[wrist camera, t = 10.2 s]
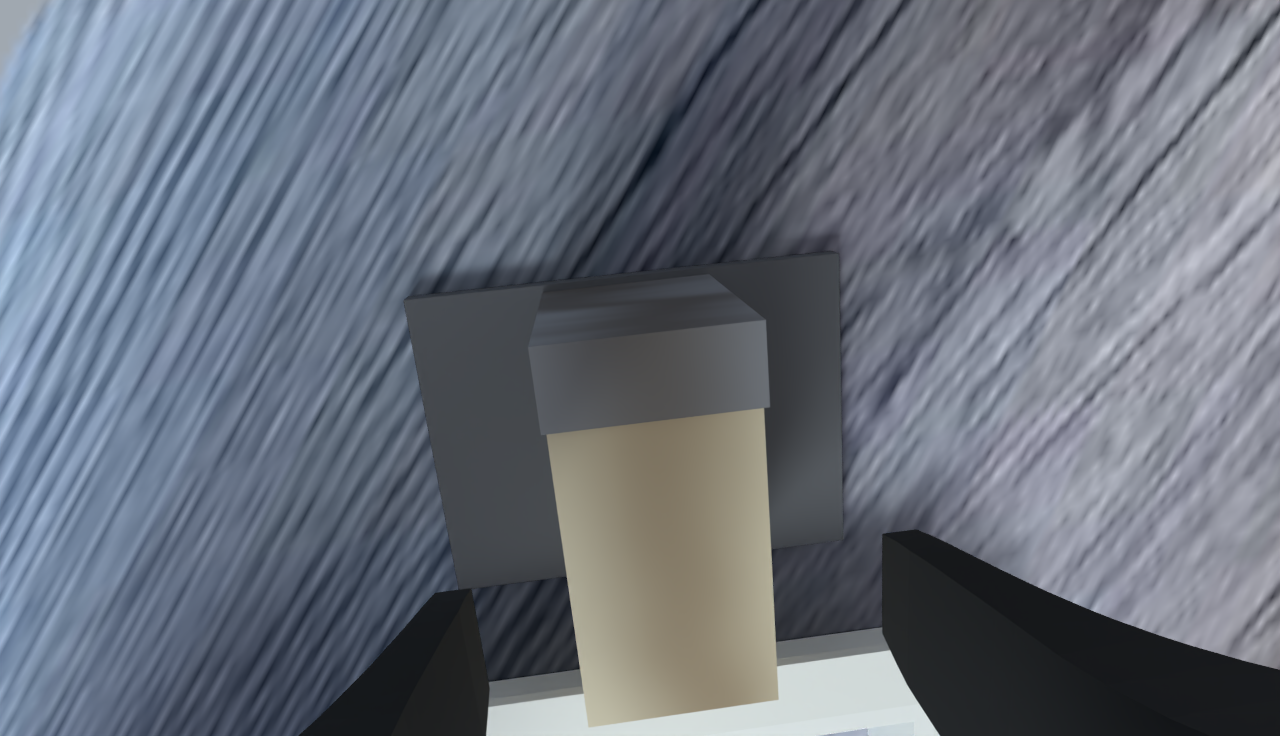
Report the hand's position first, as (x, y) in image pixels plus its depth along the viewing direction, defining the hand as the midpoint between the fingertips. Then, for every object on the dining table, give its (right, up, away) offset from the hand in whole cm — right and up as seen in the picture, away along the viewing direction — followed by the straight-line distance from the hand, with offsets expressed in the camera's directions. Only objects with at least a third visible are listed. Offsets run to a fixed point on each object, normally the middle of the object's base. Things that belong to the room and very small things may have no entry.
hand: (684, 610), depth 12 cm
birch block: (-1, +2, +8) cm, 9 cm away
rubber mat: (-1, +3, +9) cm, 9 cm away
